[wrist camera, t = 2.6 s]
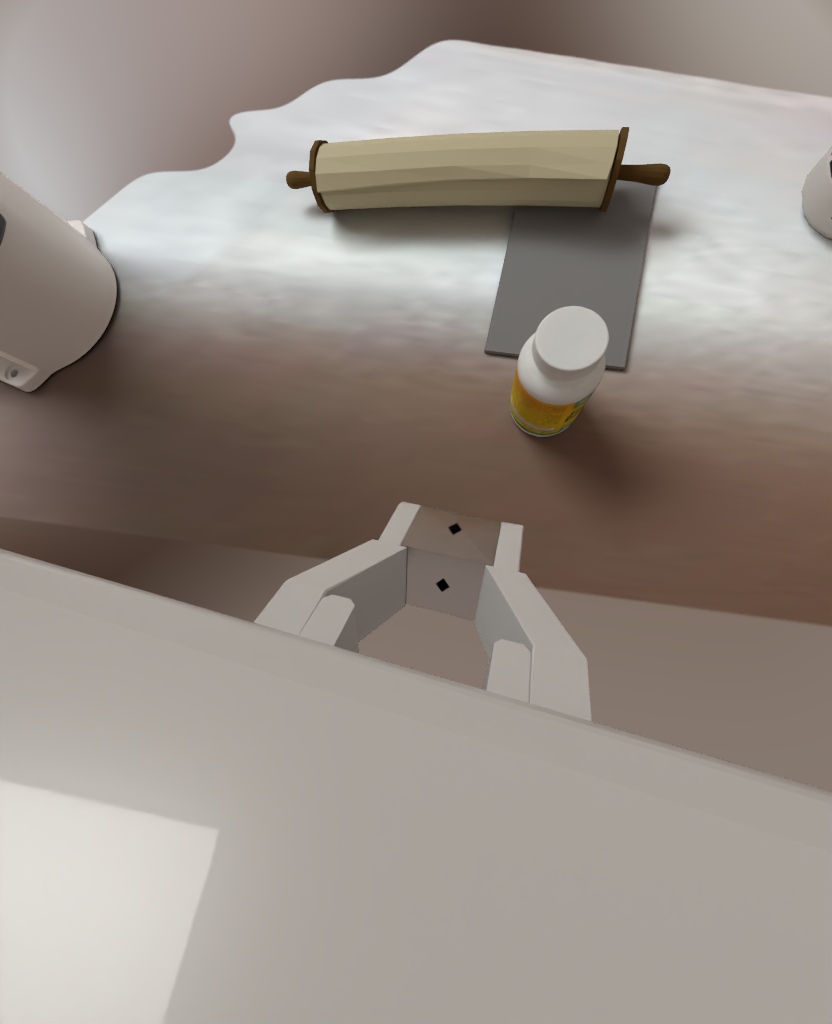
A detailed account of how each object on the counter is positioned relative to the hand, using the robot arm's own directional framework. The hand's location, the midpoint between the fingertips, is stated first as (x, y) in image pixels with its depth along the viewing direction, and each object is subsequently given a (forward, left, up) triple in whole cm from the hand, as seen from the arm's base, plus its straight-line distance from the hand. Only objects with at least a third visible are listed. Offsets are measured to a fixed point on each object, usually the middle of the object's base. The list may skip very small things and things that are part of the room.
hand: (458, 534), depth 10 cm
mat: (+3, +26, -21) cm, 34 cm away
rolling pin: (-7, +31, -21) cm, 38 cm away
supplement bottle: (+3, +13, -21) cm, 25 cm away
